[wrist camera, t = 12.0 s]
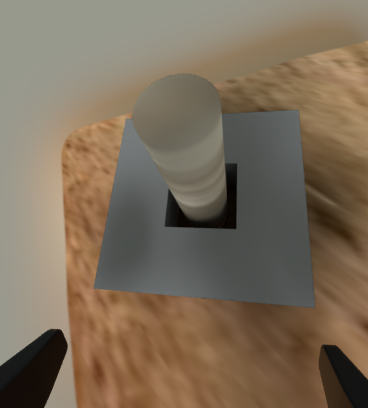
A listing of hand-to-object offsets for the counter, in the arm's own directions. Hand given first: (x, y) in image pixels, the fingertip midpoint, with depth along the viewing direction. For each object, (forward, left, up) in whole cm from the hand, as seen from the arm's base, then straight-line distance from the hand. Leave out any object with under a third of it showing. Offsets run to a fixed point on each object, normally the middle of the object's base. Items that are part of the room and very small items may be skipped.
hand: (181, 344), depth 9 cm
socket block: (+8, +1, -11) cm, 14 cm away
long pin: (+8, +1, -11) cm, 14 cm away
